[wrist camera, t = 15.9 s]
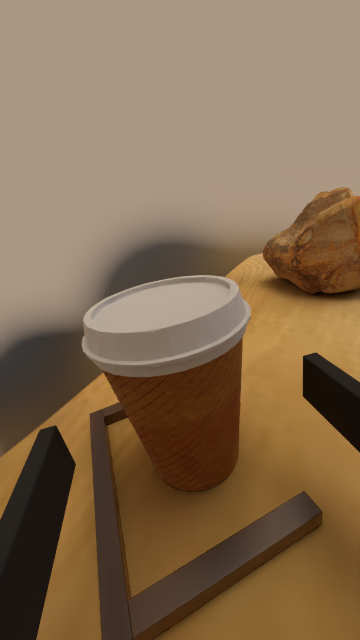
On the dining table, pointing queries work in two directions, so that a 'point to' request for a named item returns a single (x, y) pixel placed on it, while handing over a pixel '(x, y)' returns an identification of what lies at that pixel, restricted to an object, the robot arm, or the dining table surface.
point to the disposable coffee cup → (176, 371)
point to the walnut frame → (191, 579)
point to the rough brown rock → (320, 245)
